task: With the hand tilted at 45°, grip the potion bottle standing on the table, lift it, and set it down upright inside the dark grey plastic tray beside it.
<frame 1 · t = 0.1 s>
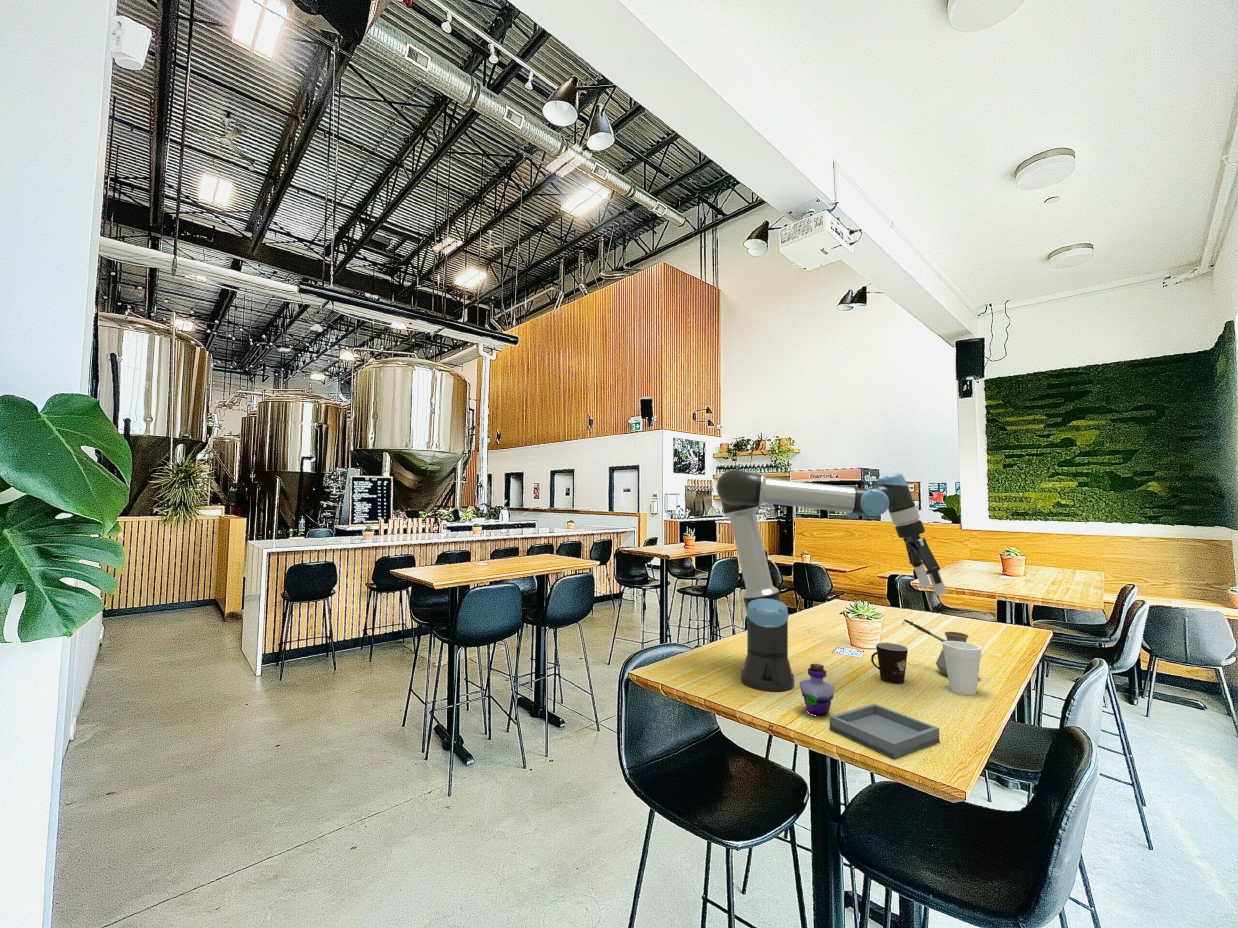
hand: (933, 590, 157), 28 cm above the table, tool tilted 20°, fingers open, 13 cm apart
foam cup: (962, 691, 150), on the table
coffee pot: (939, 672, 167), on the table
tray: (883, 735, 120), on the table
potion bottle: (817, 713, 133), on the table
coffee mug: (887, 680, 158), on the table
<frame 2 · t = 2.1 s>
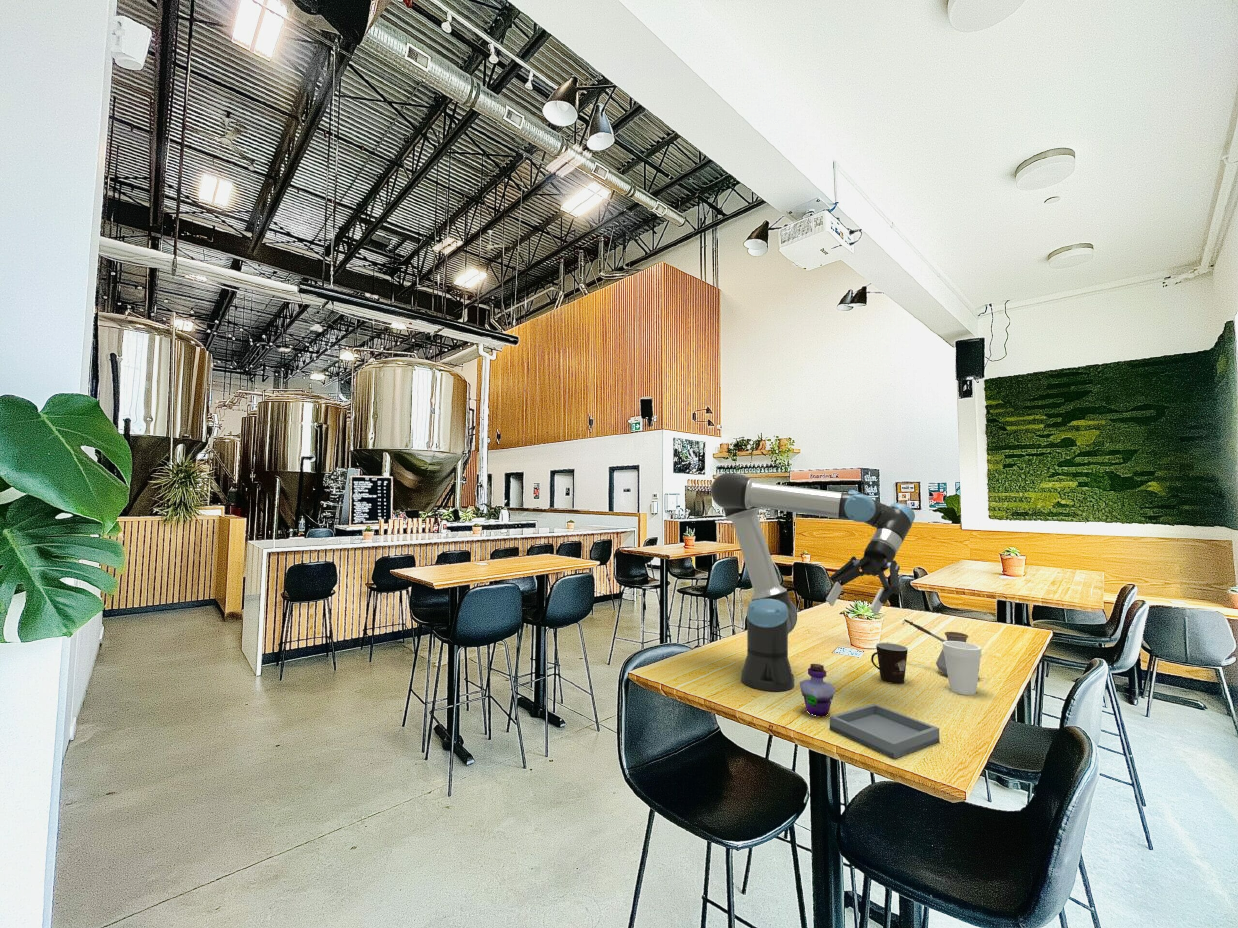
hand: (850, 606, 141), 25 cm above the table, tool tilted 45°, fingers open, 13 cm apart
nothing on the table moved.
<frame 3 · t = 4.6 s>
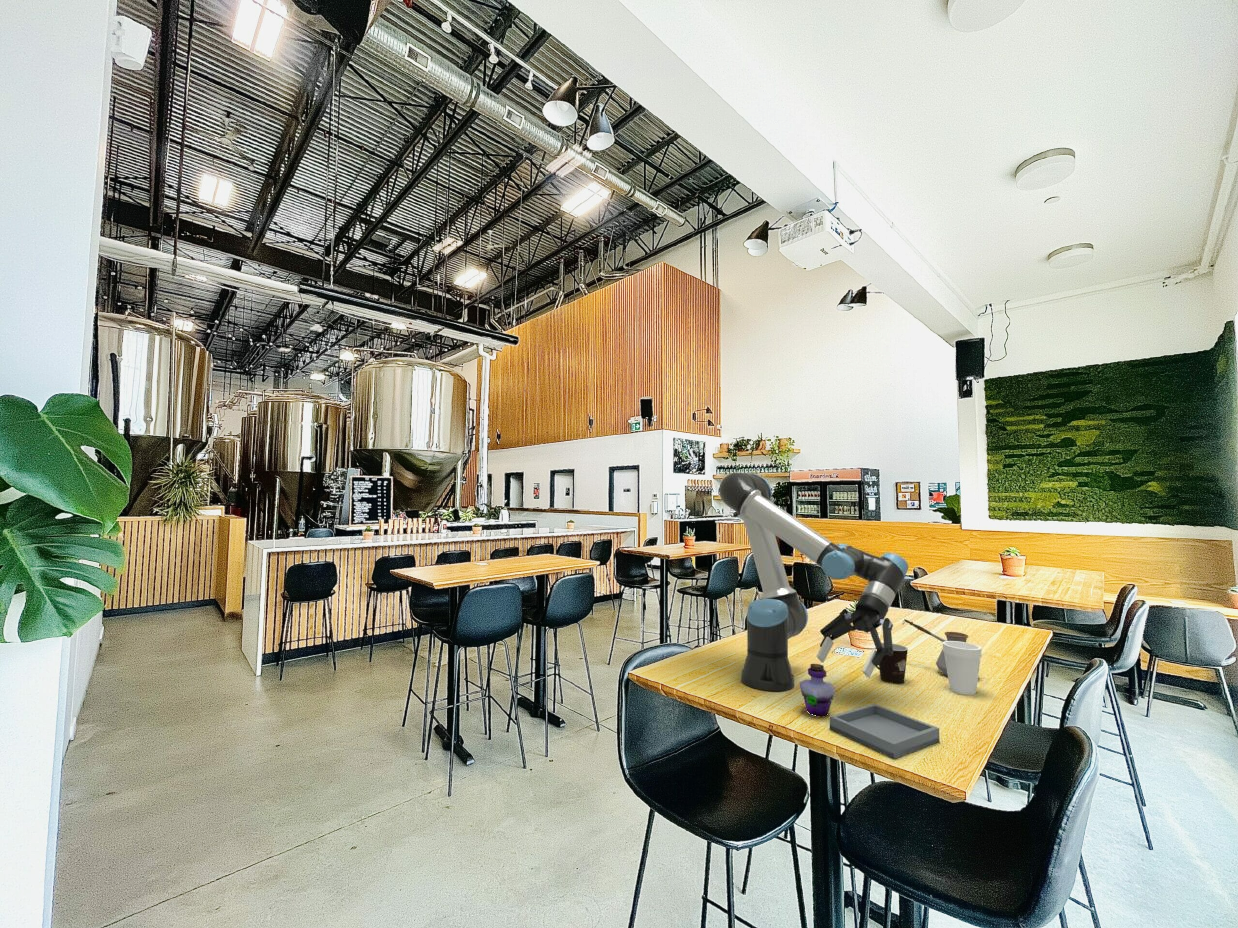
hand: (841, 666, 135), 11 cm above the table, tool tilted 45°, fingers open, 13 cm apart
nothing on the table moved.
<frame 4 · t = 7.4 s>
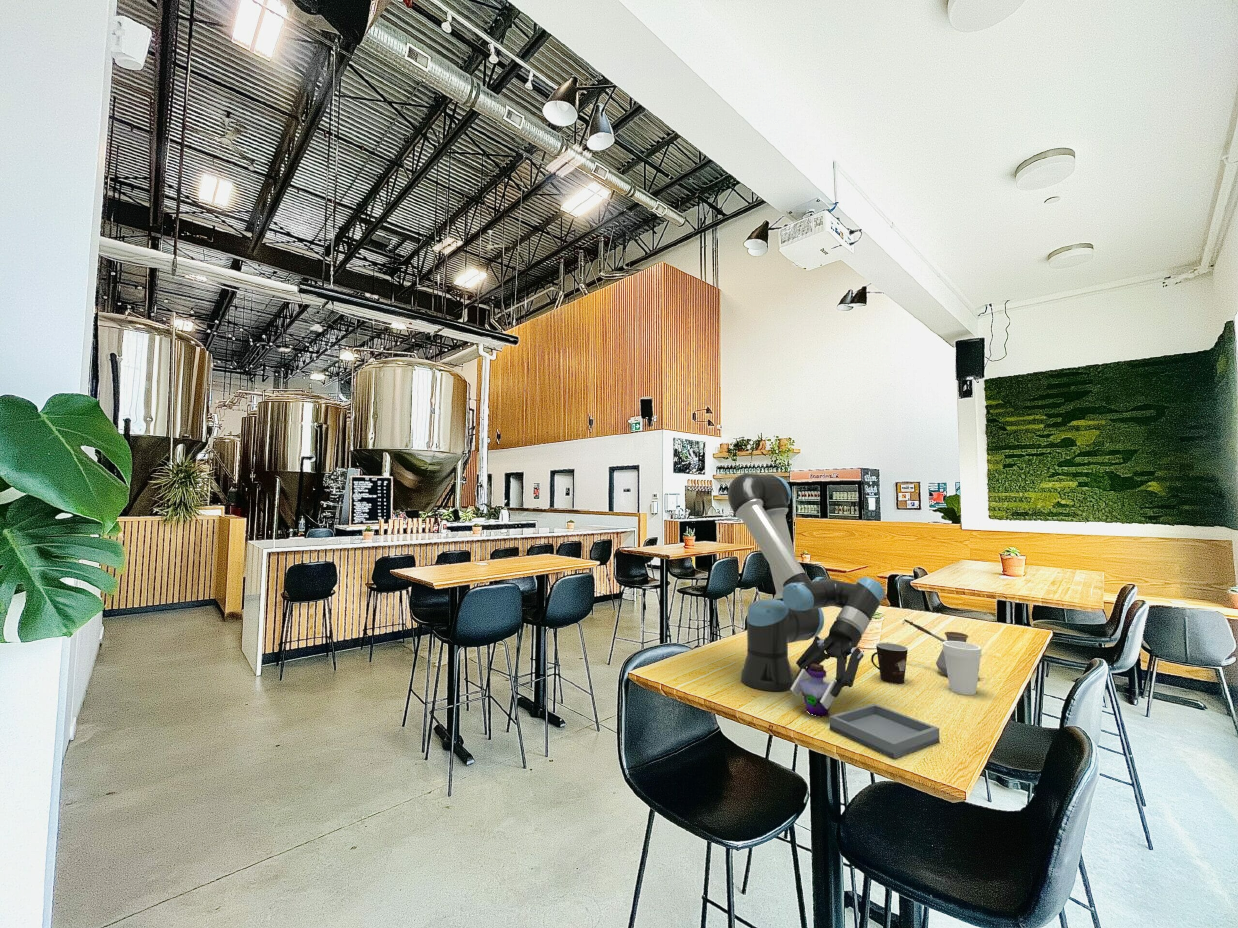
hand: (808, 698, 131), 4 cm above the table, tool tilted 45°, fingers closed on potion bottle, 9 cm apart
potion bottle: (817, 713, 133), on the table, touching gripper
everything else where it was.
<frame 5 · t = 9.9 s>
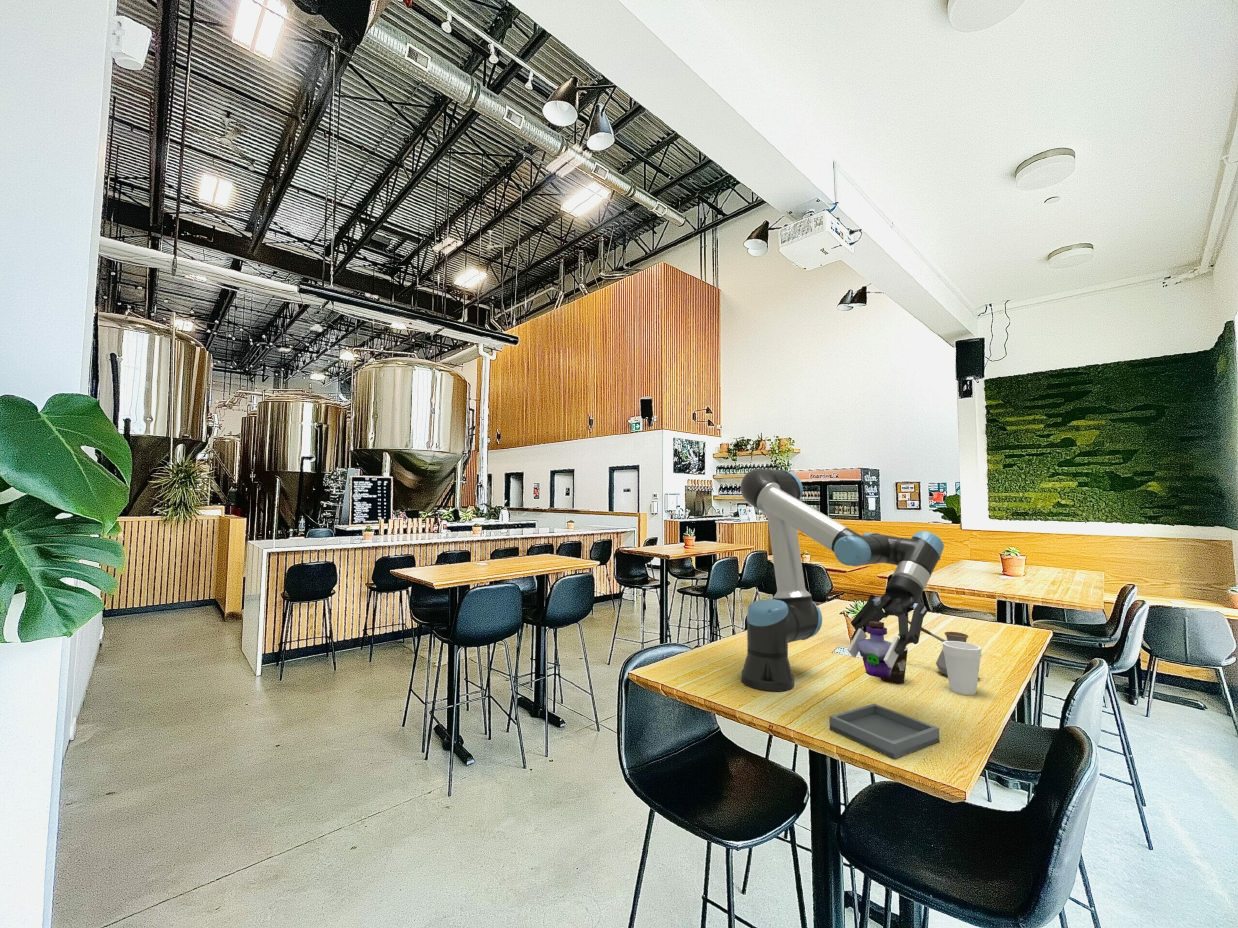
hand: (869, 658, 120), 18 cm above the table, tool tilted 45°, fingers closed on potion bottle, 9 cm apart
potion bottle: (878, 674, 122), point 13 cm above the table, touching gripper
everything else where it was.
when the fingers open (6 cm above the table, at t = 12.4 s): potion bottle drops 1 cm, resting on tray.
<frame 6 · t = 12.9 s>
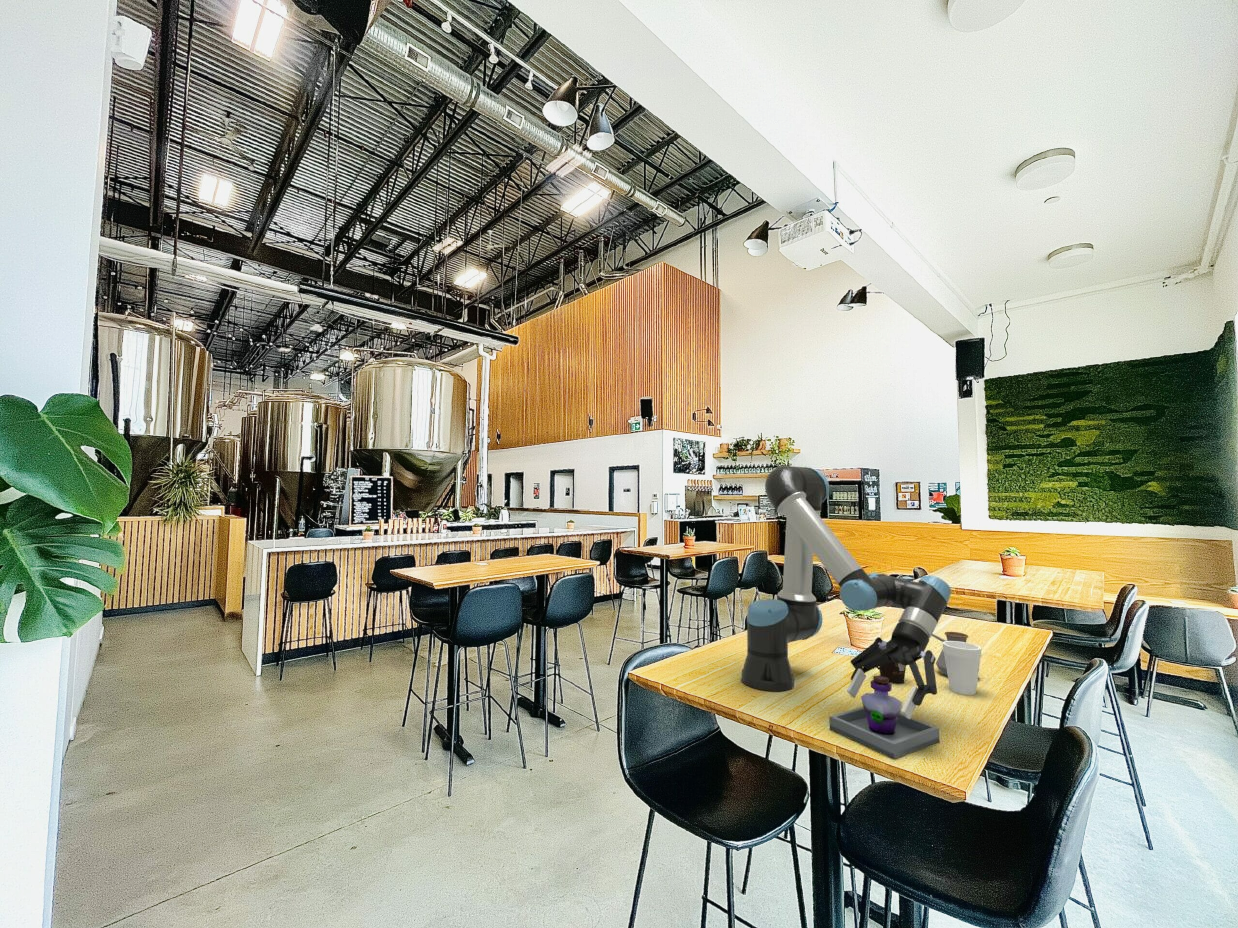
hand: (876, 704, 120), 7 cm above the table, tool tilted 45°, fingers open, 13 cm apart
potion bottle: (881, 730, 121), point 1 cm above the table, touching tray
everything else where it was.
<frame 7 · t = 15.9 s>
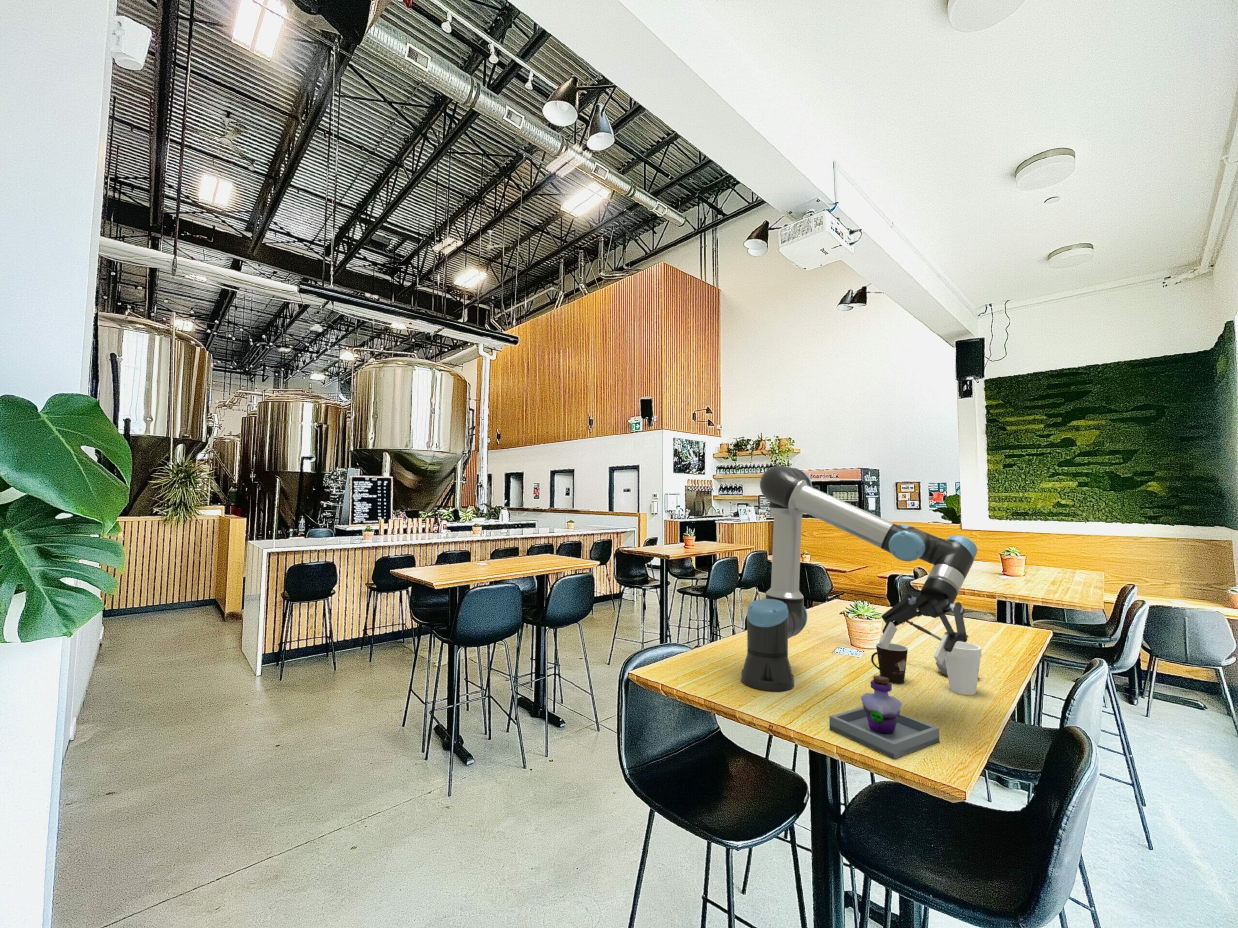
hand: (908, 652, 127), 17 cm above the table, tool tilted 45°, fingers open, 13 cm apart
nothing on the table moved.
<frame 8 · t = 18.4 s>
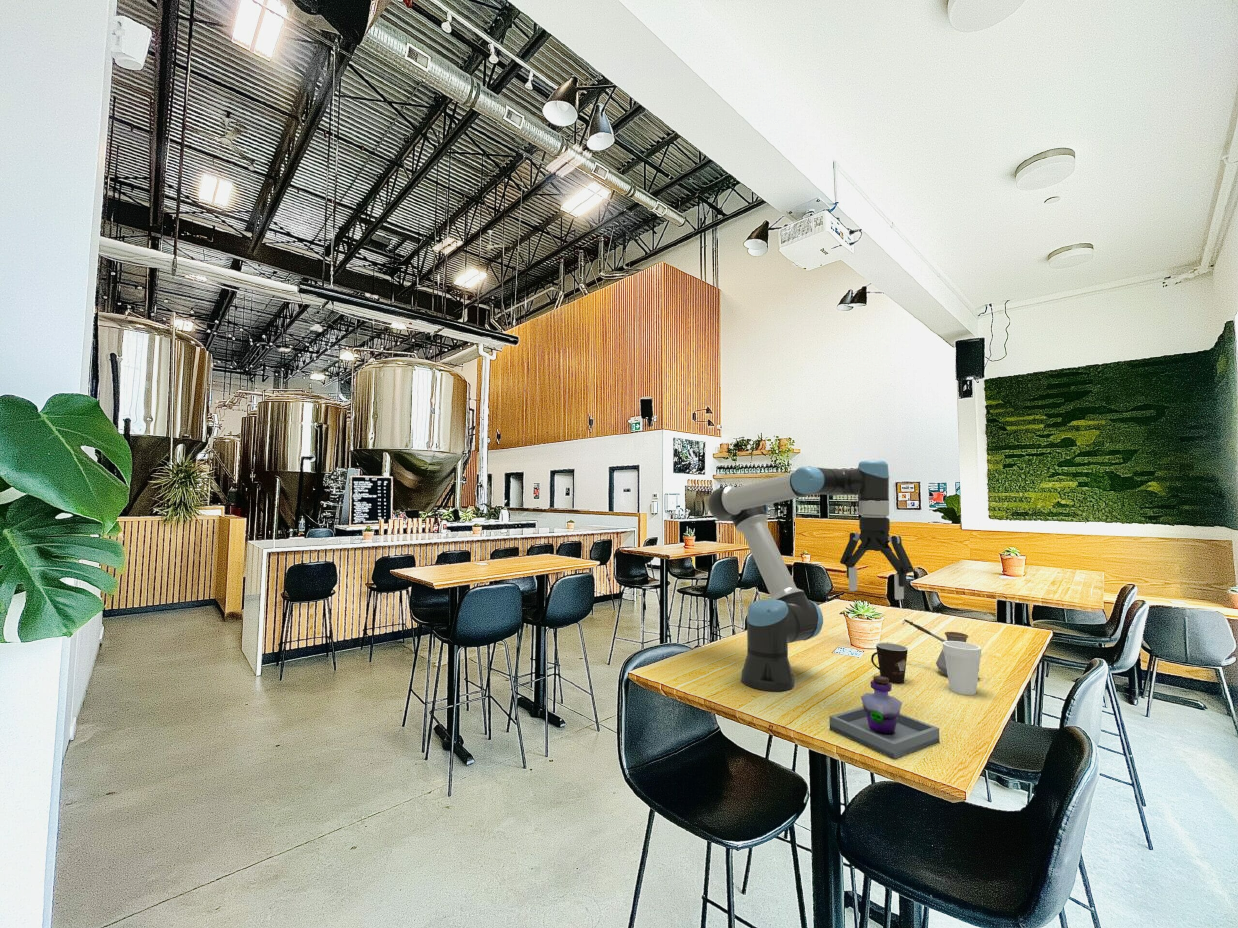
hand: (875, 594, 142), 29 cm above the table, tool pointing down, fingers open, 13 cm apart
nothing on the table moved.
at the end: potion bottle inside the target area on the tray (0.5 cm from its centre), point 0.8 cm above the tray's base; potion bottle tilted 0°; the gripper is holding nothing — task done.
